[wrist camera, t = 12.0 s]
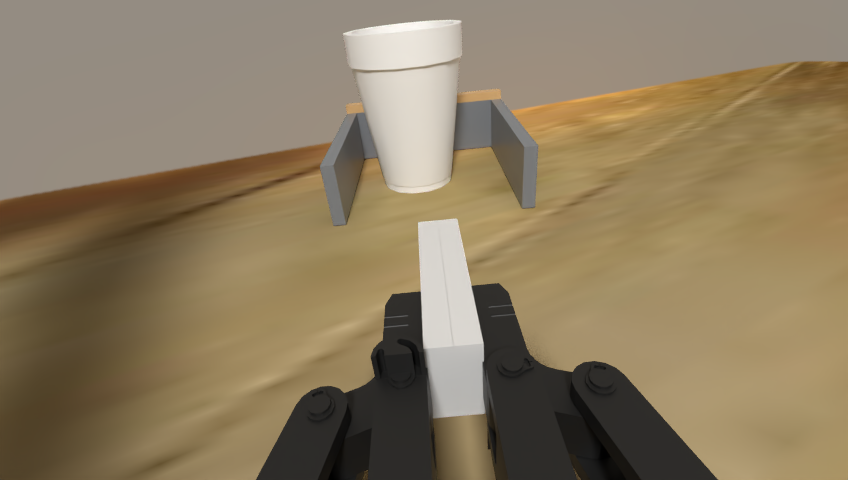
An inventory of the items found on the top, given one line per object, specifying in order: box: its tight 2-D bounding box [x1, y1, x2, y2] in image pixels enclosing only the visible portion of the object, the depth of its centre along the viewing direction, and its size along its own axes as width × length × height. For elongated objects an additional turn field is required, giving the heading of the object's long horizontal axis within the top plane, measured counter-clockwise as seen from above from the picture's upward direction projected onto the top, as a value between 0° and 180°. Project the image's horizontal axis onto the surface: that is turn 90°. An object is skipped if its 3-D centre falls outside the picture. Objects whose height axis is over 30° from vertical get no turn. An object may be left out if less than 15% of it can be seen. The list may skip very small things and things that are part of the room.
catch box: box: [320, 89, 538, 226], centre depth 38 cm, size 16×16×6 cm
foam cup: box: [343, 20, 463, 193], centre depth 36 cm, size 10×9×13 cm
